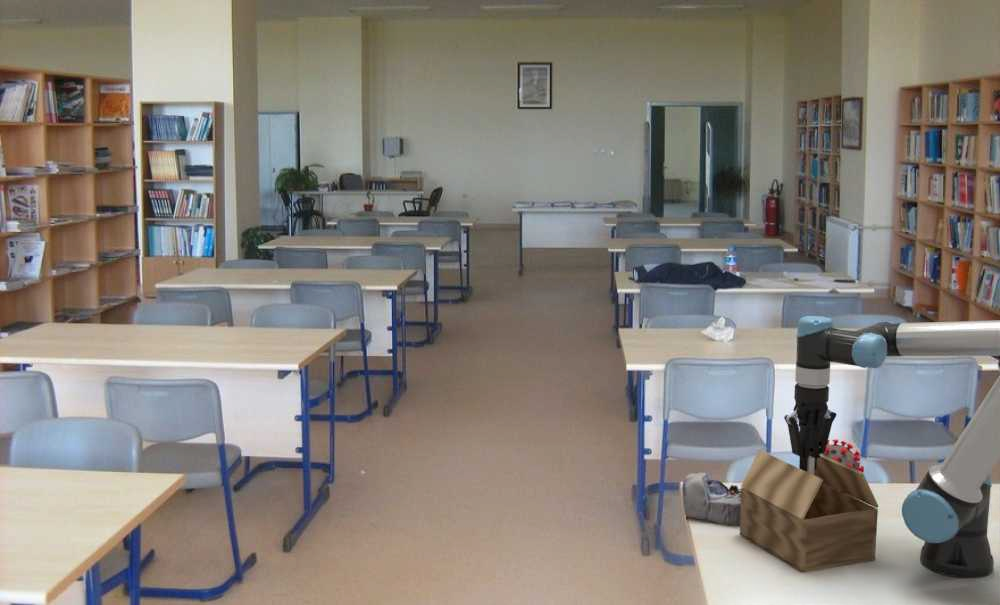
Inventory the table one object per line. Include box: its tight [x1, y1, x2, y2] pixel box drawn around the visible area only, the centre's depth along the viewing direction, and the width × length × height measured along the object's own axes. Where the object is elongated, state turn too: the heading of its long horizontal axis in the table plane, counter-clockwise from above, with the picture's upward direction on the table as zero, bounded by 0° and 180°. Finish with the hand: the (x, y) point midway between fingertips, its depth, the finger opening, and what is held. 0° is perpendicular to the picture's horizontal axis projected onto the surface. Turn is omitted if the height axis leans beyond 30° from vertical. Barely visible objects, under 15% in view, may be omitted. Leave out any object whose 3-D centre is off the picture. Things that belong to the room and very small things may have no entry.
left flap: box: [740, 449, 823, 520], centre depth 250 cm, size 23×10×1 cm
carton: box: [739, 483, 879, 574], centre depth 255 cm, size 24×20×12 cm
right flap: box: [814, 454, 879, 509], centre depth 256 cm, size 23×10×1 cm
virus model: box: [821, 438, 865, 493], centre depth 291 cm, size 14×15×15 cm
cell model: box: [681, 472, 741, 526], centre depth 274 cm, size 13×11×20 cm
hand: (807, 483), depth 253 cm, fingers closed
